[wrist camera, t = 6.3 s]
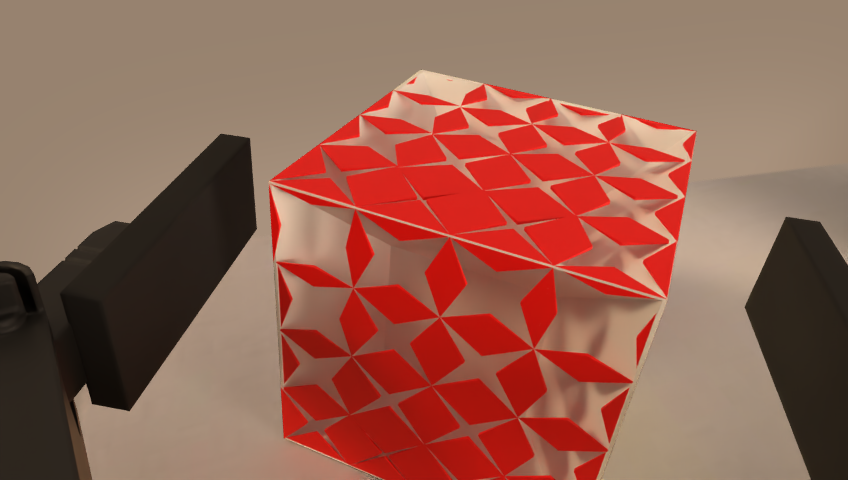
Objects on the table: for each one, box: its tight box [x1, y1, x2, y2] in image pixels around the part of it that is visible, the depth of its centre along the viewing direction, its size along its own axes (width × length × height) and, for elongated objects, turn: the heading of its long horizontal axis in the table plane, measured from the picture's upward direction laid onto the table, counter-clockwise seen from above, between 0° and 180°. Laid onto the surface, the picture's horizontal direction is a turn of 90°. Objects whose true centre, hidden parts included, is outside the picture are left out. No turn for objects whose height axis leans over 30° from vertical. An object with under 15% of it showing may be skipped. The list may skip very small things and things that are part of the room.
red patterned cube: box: [269, 70, 697, 480], centre depth 17 cm, size 8×8×8 cm
